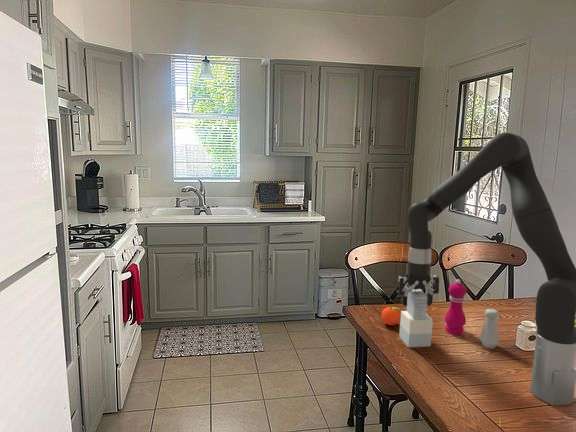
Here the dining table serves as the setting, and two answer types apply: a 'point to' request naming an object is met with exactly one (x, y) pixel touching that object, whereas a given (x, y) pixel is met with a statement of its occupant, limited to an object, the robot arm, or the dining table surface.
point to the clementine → (391, 315)
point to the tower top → (416, 324)
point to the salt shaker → (490, 329)
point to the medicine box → (417, 304)
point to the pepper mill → (456, 309)
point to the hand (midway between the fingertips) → (416, 305)
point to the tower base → (415, 338)
